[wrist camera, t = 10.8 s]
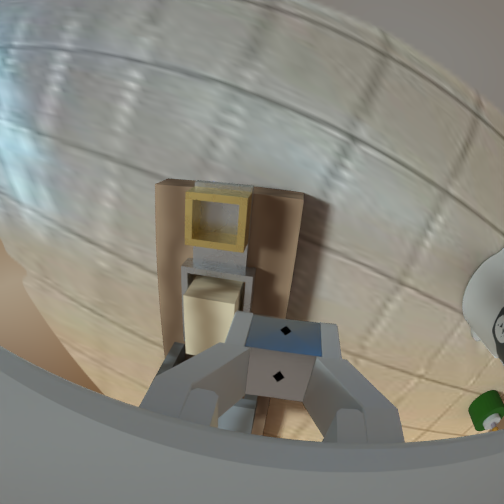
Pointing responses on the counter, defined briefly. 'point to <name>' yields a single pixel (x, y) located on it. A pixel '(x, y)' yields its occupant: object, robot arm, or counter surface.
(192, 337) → the maple block
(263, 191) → the tunnel deck
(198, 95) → the counter surface
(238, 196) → the sled
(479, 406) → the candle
